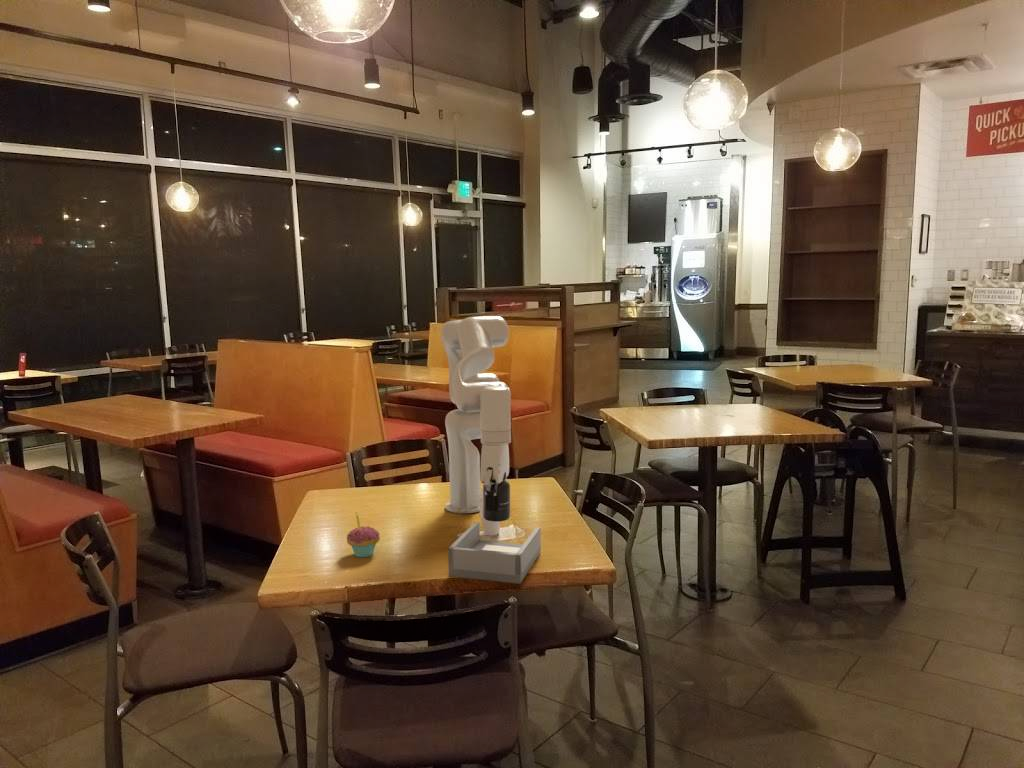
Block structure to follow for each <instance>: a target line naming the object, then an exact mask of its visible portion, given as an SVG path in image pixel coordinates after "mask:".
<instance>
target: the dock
mask: <svg viewBox="0 0 1024 768" xmlns="http://www.w3.org/2000/svg"><path fill="white" fill-rule="evenodd" d="M480 528H481V527H480V522H479V521H474V522H473V523H472V524H471V525H470V526H469V527H468V528H467V529H466V530H465V531H464V532H463V533H462V534H461V535H460V536H459V537H458V538H457V539H456V540H455V541H454V542H453V543H452V544H451V545H450V546H449V547H448V548H447V549H448V550H447V551H448V552H447V553H448V556H447V557H448V560H447V561H448V577H455V578H464V579H473V580H480V581H481V580H483V581H492V582H501V583H511V584H518V585H521V584H522V582H523V581H524V579H525V578H526V576H527V574H528V573H529V571H530V570H531V568H532V567H533V565H534V564H535V562H536V561H537V559H538V558H539V556H540V555H541V553H542V552H541V550H542V549H541V527H540V526H535V528H534V529H533V530H532V532H531V533H530V534H529V536H527V539H525V541H524V542H523V543H515V542H507V541H506V542H505V541H504V542H503V541H494V540H492V541H491V540H485V539H484V540H482V539H481V535H480V531H481V530H480ZM540 552H541V553H540ZM539 554H540V555H539ZM538 555H539V556H538ZM537 557H538V558H537ZM536 558H537V559H536ZM535 560H536V561H535ZM534 561H535V562H534ZM533 563H534V564H533ZM532 564H533V565H532ZM531 566H532V567H531ZM529 569H530V570H529ZM527 572H528V573H527Z"/></svg>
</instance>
